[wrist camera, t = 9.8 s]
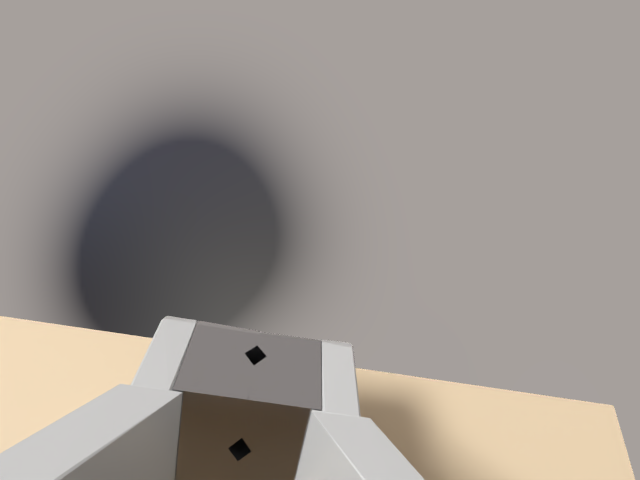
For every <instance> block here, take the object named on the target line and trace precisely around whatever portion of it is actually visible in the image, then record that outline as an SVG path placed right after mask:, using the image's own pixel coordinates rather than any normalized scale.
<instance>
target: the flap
mask: <svg viewBox="0 0 640 480" xmlns="http://www.w3.org/2000/svg"><path fill="white" fill-rule="evenodd" d="M152 339H153V338H147V337H140V336H133V335H126V334H119V333H112V332H105V331H98V330H92V329H85V328H78V327H71V326H64V325H57V324H51V323H43V322H36V321H30V320H23V319H16V318H10V317H3V316H0V453H2V452H3V451H5V450H7V449H9V448H10V447H12V446H14V445H15V444H17V443H19V442H21V441H22V440H24V439H26V438H28V437H29V436H31V435H33V434H34V433H36V432H38V431H40V430H41V429H43V428H45V427H47V426H48V425H50V424H52V423H53V422H55V421H57V420H59V419H60V418H62V417H64V416H65V415H67V414H69V413H71V412H72V411H74V410H76V409H78V408H79V407H81V406H83V405H84V404H86V403H88V402H90V401H91V400H93V399H95V398H96V397H98V396H100V395H102V394H103V393H105V392H107V391H109V390H110V389H112V388H114V387H115V386H117V385H119V384H126V385H131V383H132V381H133V379H134V377H135V375H136V372H137V370H138V368H139V366H140V364H141V362H142V360H143V358H144V356H145V354H146V352H147V349H148V347H149V345H150V343H151V341H152ZM355 369H356V378H357V387H358V396H359V405H360V414H361V417H366V418H371V419H372V421H373V422H374V423H375V424H376V425H377V426H378V427H379V429H380V430H381V431H382V432H383V433H384V434H385V435H386V436H387V438H388V439H389V440H390V441H391V442H392V443H393V444H394V445H395V447H396V448H397V449H398V450H399V451H400V452H401V453H402V455H403V456H404V457H405V458H406V459H407V460H408V461H409V462H410V464H411V465H412V466H413V467H414V468H415V469H416V470H417V471H418V473H419V474H420V475H421V476H422V477H423V478H424V479H425V480H635V477H634V474H633V470H632V467H631V464H630V460H629V457H628V453H627V450H626V446H625V443H624V440H623V436H622V433H621V429H620V426H619V423H618V419H617V416H616V413H615V409H614V406H613V405H606V404H599V403H592V402H586V401H579V400H571V399H565V398H558V397H551V396H544V395H537V394H531V393H524V392H517V391H510V390H503V389H496V388H490V387H483V386H476V385H469V384H462V383H455V382H448V381H441V380H435V379H428V378H421V377H413V376H407V375H400V374H393V373H386V372H380V371H373V370H365V369H359V368H355Z"/></svg>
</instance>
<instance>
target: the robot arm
mask: <svg viewBox="0 0 640 480" xmlns="http://www.w3.org/2000/svg"><path fill="white" fill-rule="evenodd" d="M0 480H425V479H424V478H423V477H422V476H421V475H420V474H419V473H418V471H417V470H416V469H415V468H414V467H413V466H412V465H411V464H410V462H409V461H408V460H407V459H406V458H405V457H404V456H403V455H402V453H401V452H400V451H399V450H398V449H397V448H396V447H395V445H394V444H393V443H392V442H391V441H390V440H389V439H388V438H387V436H386V435H385V434H384V433H383V432H382V431H381V430H380V429H379V427H378V426H377V425H376V424H375V423H374V422H373V421H372V419H371V418H366V417H361V414H360V405H359V396H358V387H357V378H356V369H355V360H354V351H353V346H352V345H351V343H347V342H337V341H330V340H314V339H307V338H300V337H292V336H286V335H279V334H272V333H265V332H260V331H256V330H250V329H244V328H238V327H232V326H227V325H221V324H215V323H209V322H203V321H198V322H197V321H196V320H190V319H183V318H177V317H171V316H166V317H165V318H164V319H162V320H161V322H160V324H159V327H158V329H157V331H156V333H155V335H154V337H153V339H152V341H151V343H150V345H149V347H148V349H147V352H146V354H145V356H144V358H143V360H142V362H141V364H140V366H139V368H138V370H137V372H136V375H135V377H134V379H133V381H132V383H131V385H126V384H119V385H117V386H115V387H114V388H112V389H110V390H109V391H107V392H105V393H103V394H102V395H100V396H98V397H96V398H95V399H93V400H91V401H90V402H88V403H86V404H84V405H83V406H81V407H79V408H78V409H76V410H74V411H72V412H71V413H69V414H67V415H65V416H64V417H62V418H60V419H59V420H57V421H55V422H53V423H52V424H50V425H48V426H47V427H45V428H43V429H41V430H40V431H38V432H36V433H34V434H33V435H31V436H29V437H28V438H26V439H24V440H22V441H21V442H19V443H17V444H15V445H14V446H12V447H10V448H9V449H7V450H5V451H3V452H2V453H0Z"/></svg>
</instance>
